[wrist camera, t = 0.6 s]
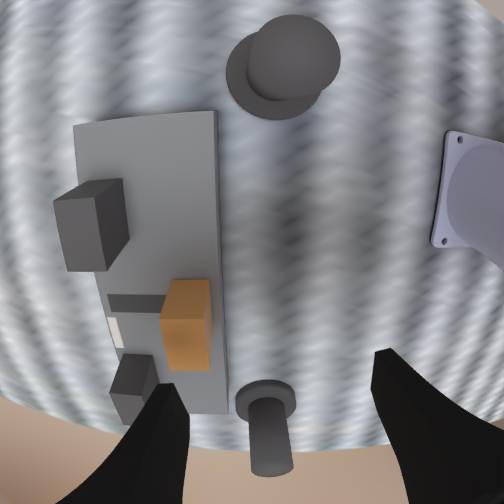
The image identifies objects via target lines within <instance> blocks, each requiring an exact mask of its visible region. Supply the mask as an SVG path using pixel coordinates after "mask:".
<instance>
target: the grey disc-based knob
mask: <svg viewBox="0 0 504 504" xmlns="http://www.w3.org/2000/svg"><path fill="white" fill-rule="evenodd" d="M340 60H341V56H340V50H339V46H338V43H337V41H336V39H335V37H334V36H333V35H332V33H331V32H330V31H329V30H328V29H327V28H326V27H325V26H324V25H323V24H321V23H320V22H318V21H316V20H314V19H312V18H309V17H306V16H302V15H284V16H280V17H277V18H274V19H272V20H270V21H269V22H267V23H266V24H265V25H264V26H263V27H262V28H261V29H260V30H259V31H258V32H256V33H253V34H251V35H249V36H247V37H246V38H244V39H243V40H242V41H240V42H239V43H238V44H237V45H236V47H235V48H234V49H233V51H232V53H231V55H230V57H229V59H228V63H227V67H226V79H227V84H228V87H229V90H230V92H231V94H232V96H233V98H234V99H235V101H236V102H237V103H238V104H239V105H240V106H241V107H242V108H243V109H244V110H246V111H247V112H249V113H251V114H253V115H255V116H257V117H260V118H264V119H270V120H283V119H289V118H292V117H295V116H298V115H300V114H301V113H303V112H305V111H306V110H307V109H309V108H310V107H311V106H312V105H313V104H314V103H315V101H316V100H317V98H318V97H319V95H320V93H321V91H322V90H323V89H325V88H326V87H327V86H329V85H330V84H331V83H332V81H333V80H334V79H335V77H336V75H337V73H338V71H339V67H340Z"/></svg>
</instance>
